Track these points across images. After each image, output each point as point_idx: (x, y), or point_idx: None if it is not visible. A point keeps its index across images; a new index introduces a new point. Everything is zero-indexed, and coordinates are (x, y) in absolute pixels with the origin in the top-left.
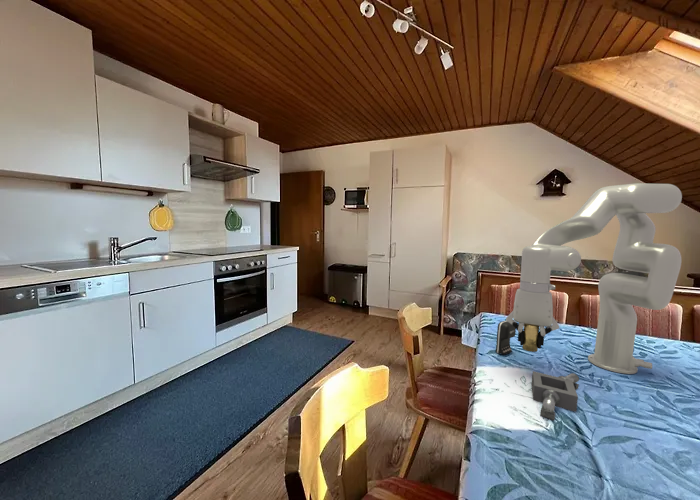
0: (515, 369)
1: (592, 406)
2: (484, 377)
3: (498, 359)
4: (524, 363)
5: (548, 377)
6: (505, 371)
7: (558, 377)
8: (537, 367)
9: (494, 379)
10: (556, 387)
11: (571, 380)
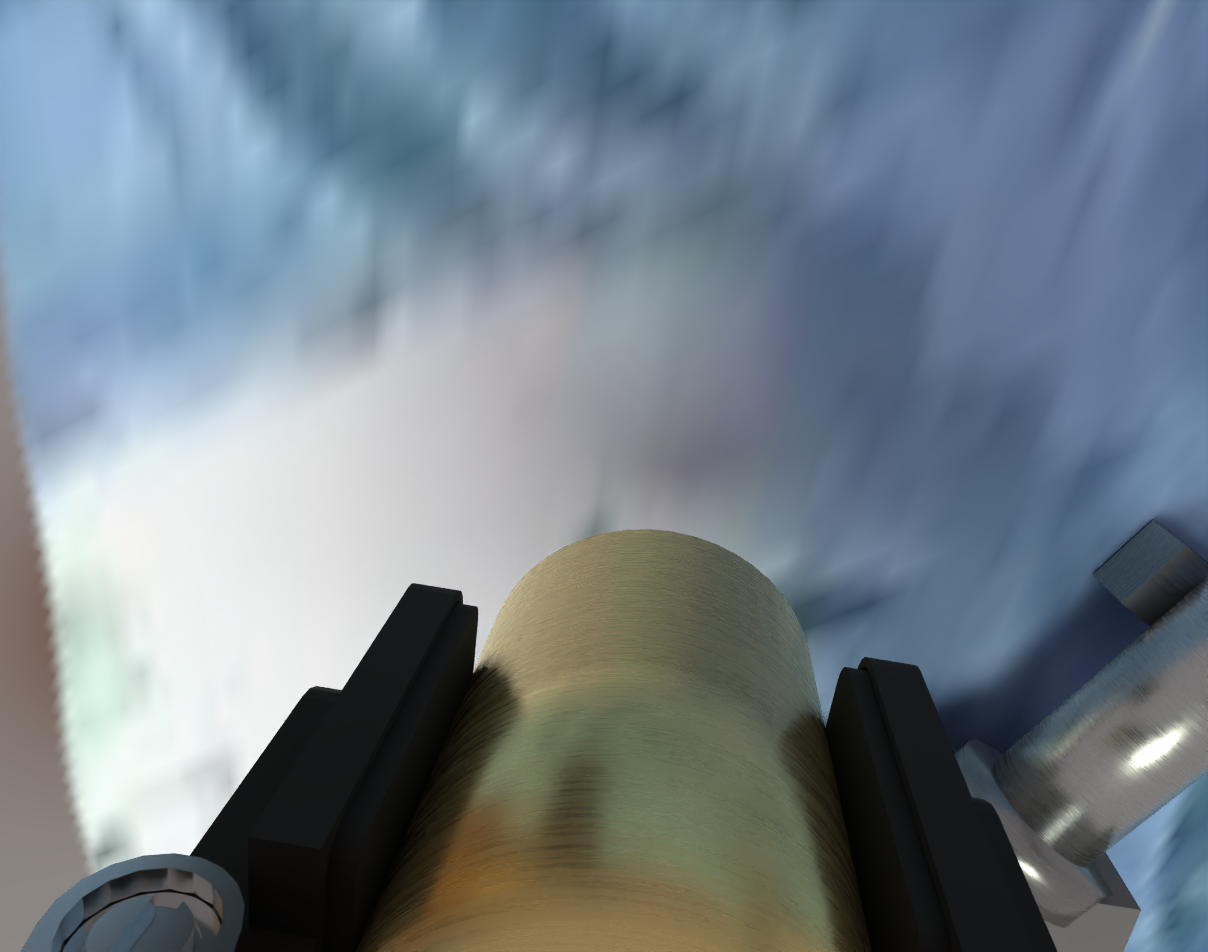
0: (515, 352)
1: (1183, 928)
2: (143, 754)
3: (269, 52)
4: (699, 4)
5: None
6: (373, 487)
7: None
8: (894, 85)
9: (250, 757)
10: None
11: (1133, 913)
